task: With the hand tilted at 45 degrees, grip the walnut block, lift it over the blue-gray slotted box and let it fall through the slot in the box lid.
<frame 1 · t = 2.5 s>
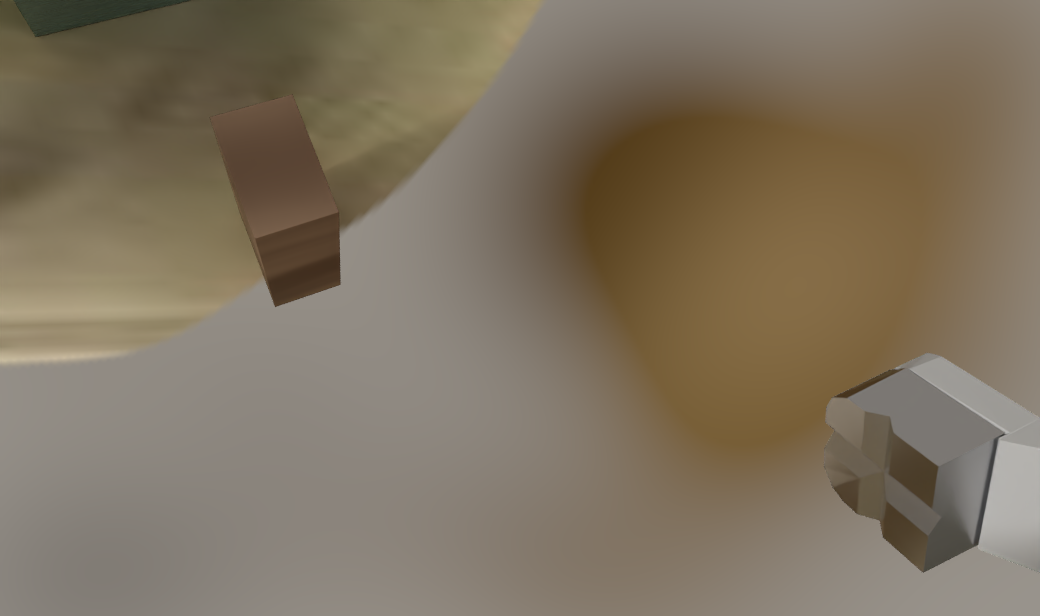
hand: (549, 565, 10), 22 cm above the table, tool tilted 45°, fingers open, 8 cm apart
walnut block: (289, 247, 33), on the table
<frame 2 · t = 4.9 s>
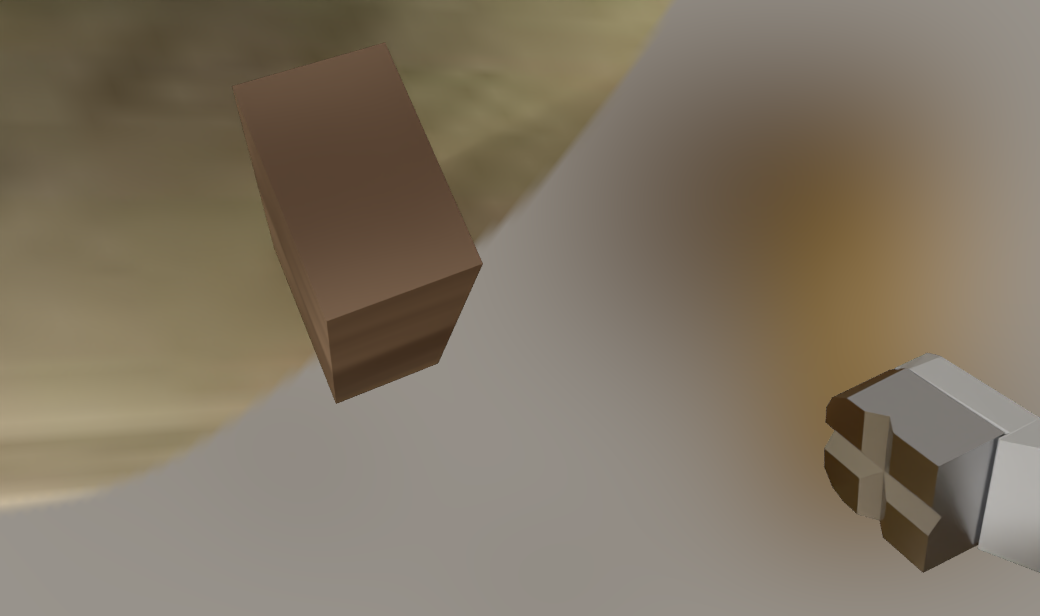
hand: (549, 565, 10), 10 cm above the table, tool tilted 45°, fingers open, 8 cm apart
walnut block: (355, 305, 21), on the table
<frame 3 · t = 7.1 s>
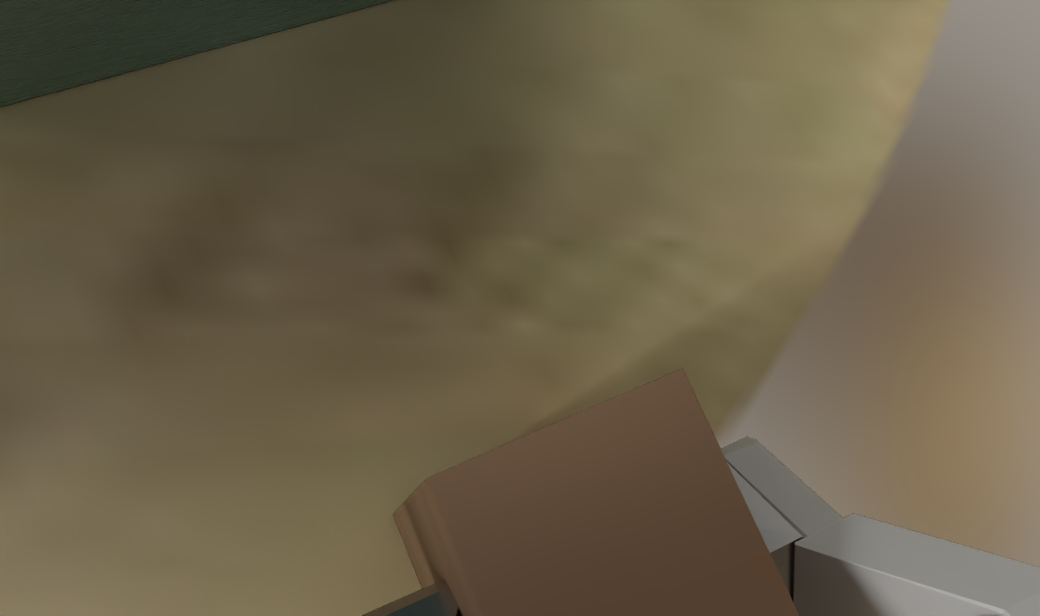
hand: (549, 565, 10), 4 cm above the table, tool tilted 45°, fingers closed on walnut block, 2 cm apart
walnut block: (509, 597, 14), on the table, touching gripper
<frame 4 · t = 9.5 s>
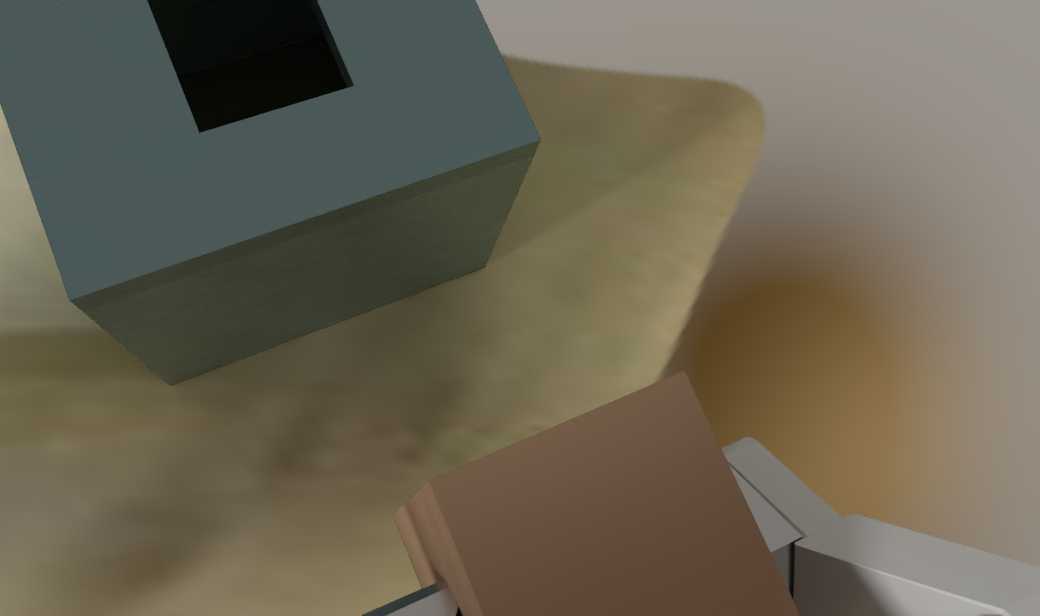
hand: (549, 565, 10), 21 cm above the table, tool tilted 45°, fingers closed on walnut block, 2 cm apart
blue-gray slotted box: (276, 179, 33), on the table
walnut block: (510, 599, 14), point 17 cm above the table, touching gripper
when the fingers open (17 cm above the table, at t = 11.5 s): walnut block drops 13 cm, resting in blue-gray slotted box.
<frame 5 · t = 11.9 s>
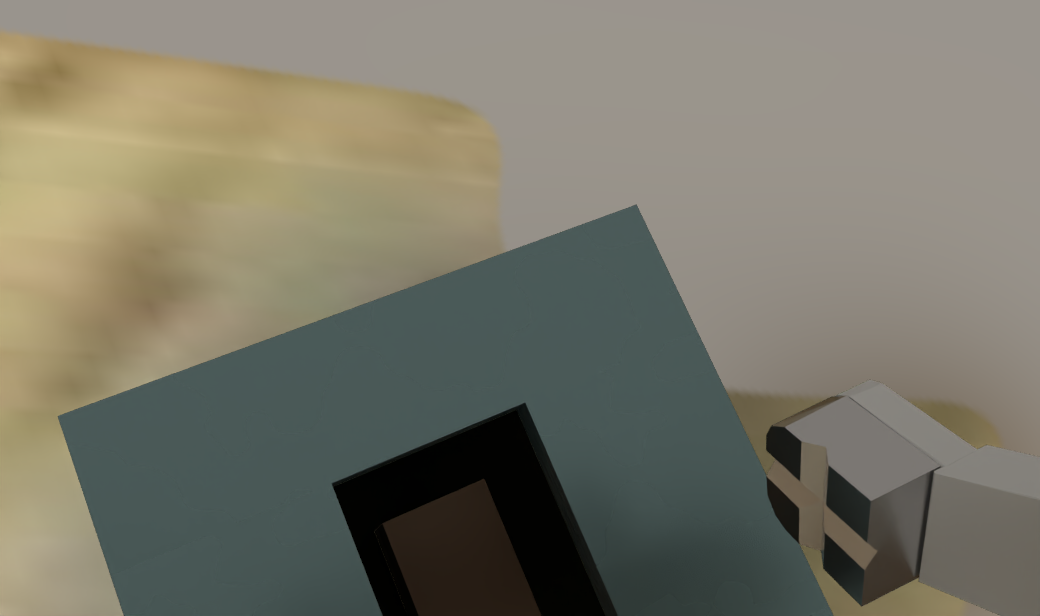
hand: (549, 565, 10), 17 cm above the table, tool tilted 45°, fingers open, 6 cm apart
blue-gray slotted box: (439, 575, 27), on the table
walnut block: (437, 576, 27), resting in blue-gray slotted box
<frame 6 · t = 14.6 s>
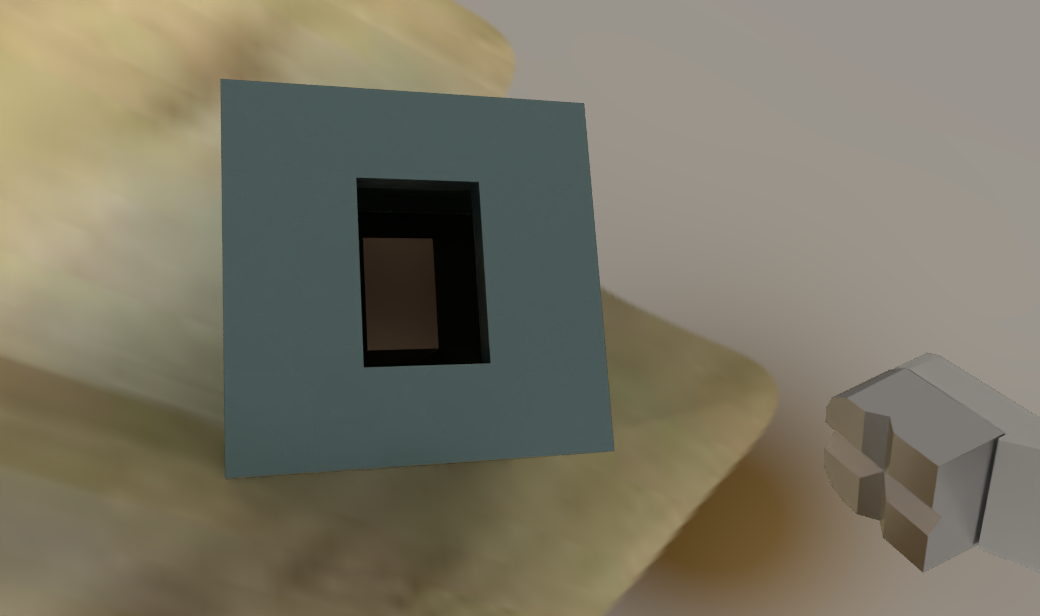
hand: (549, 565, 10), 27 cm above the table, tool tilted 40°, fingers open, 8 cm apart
blue-gray slotted box: (370, 327, 38), on the table
walnut block: (369, 327, 38), resting in blue-gray slotted box
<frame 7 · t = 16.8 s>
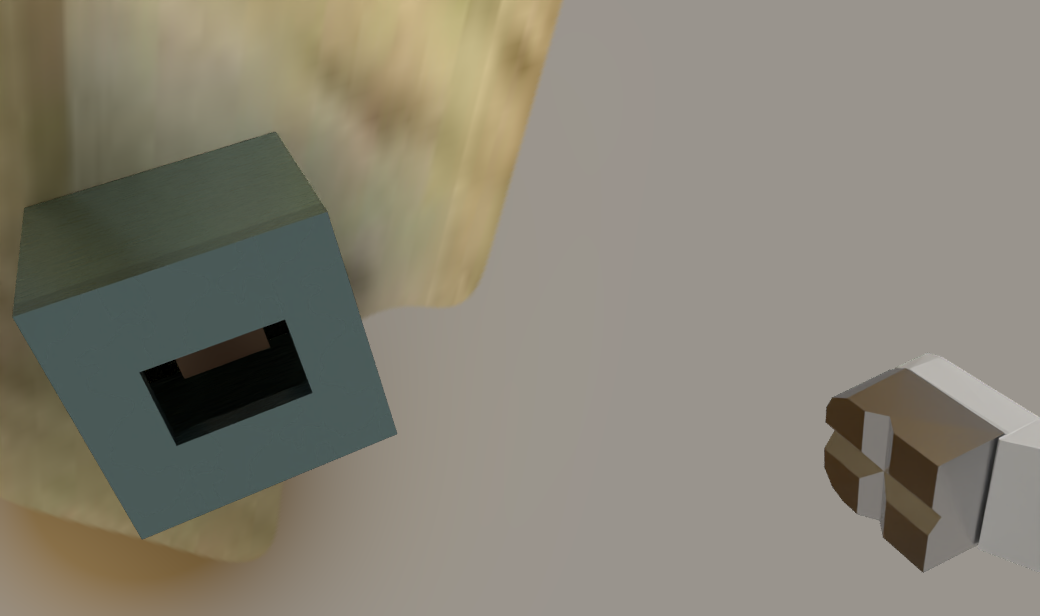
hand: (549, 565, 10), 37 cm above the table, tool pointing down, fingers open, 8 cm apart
blue-gray slotted box: (199, 273, 46), on the table
walnut block: (198, 271, 46), resting in blue-gray slotted box
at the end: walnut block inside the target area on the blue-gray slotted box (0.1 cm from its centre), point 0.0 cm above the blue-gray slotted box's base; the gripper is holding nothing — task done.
